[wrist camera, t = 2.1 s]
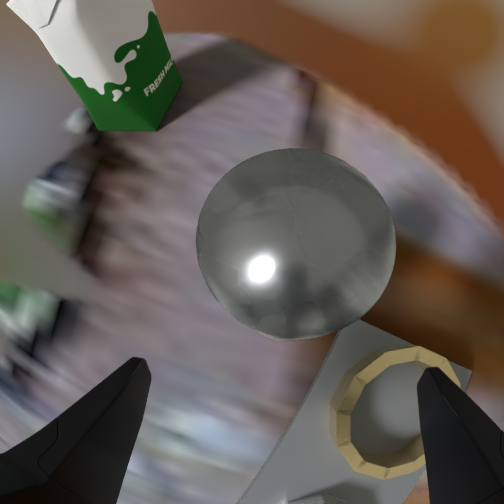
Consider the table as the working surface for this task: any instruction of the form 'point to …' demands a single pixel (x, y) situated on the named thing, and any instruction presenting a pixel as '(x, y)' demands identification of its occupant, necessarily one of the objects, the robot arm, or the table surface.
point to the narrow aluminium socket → (320, 500)
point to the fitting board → (361, 428)
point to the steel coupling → (295, 244)
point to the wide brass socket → (347, 397)
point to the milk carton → (108, 57)
